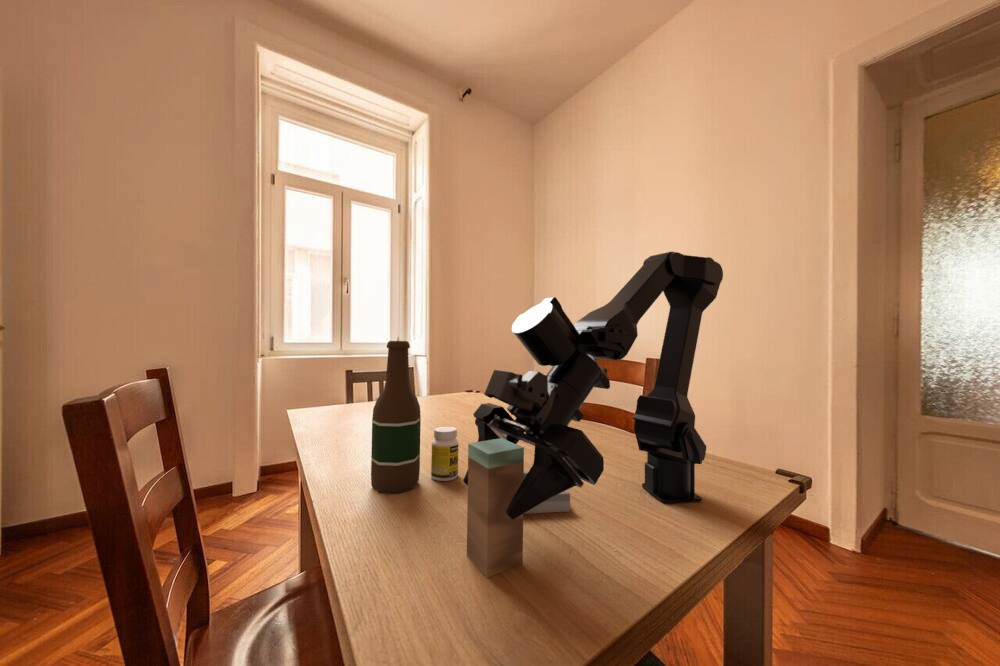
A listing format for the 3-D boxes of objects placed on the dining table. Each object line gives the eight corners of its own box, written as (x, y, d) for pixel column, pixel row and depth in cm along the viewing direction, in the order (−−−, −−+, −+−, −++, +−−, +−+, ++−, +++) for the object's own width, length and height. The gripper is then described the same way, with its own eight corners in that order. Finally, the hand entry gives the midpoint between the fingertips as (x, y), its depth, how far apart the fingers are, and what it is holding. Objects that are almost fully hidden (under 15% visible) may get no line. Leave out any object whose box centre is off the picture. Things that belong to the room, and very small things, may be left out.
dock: (552, 486, 60) (552, 471, 60) (569, 511, 51) (570, 493, 51) (480, 489, 59) (481, 473, 59) (486, 515, 50) (486, 497, 50)
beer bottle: (417, 474, 65) (419, 341, 65) (421, 491, 57) (424, 341, 58) (371, 479, 62) (374, 340, 63) (370, 497, 55) (373, 340, 55)
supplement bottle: (452, 483, 61) (453, 433, 61) (426, 480, 62) (427, 431, 62) (461, 473, 66) (462, 426, 66) (437, 470, 67) (437, 425, 67)
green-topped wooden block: (500, 543, 43) (501, 438, 43) (522, 563, 39) (523, 447, 39) (466, 555, 40) (468, 443, 41) (486, 577, 37) (488, 454, 37)
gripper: (487, 344, 50) (408, 433, 44) (584, 347, 35) (483, 486, 28) (531, 397, 54) (464, 485, 48) (636, 421, 39) (557, 556, 32)
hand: (485, 498), depth 39 cm, fingers open, 9 cm apart
